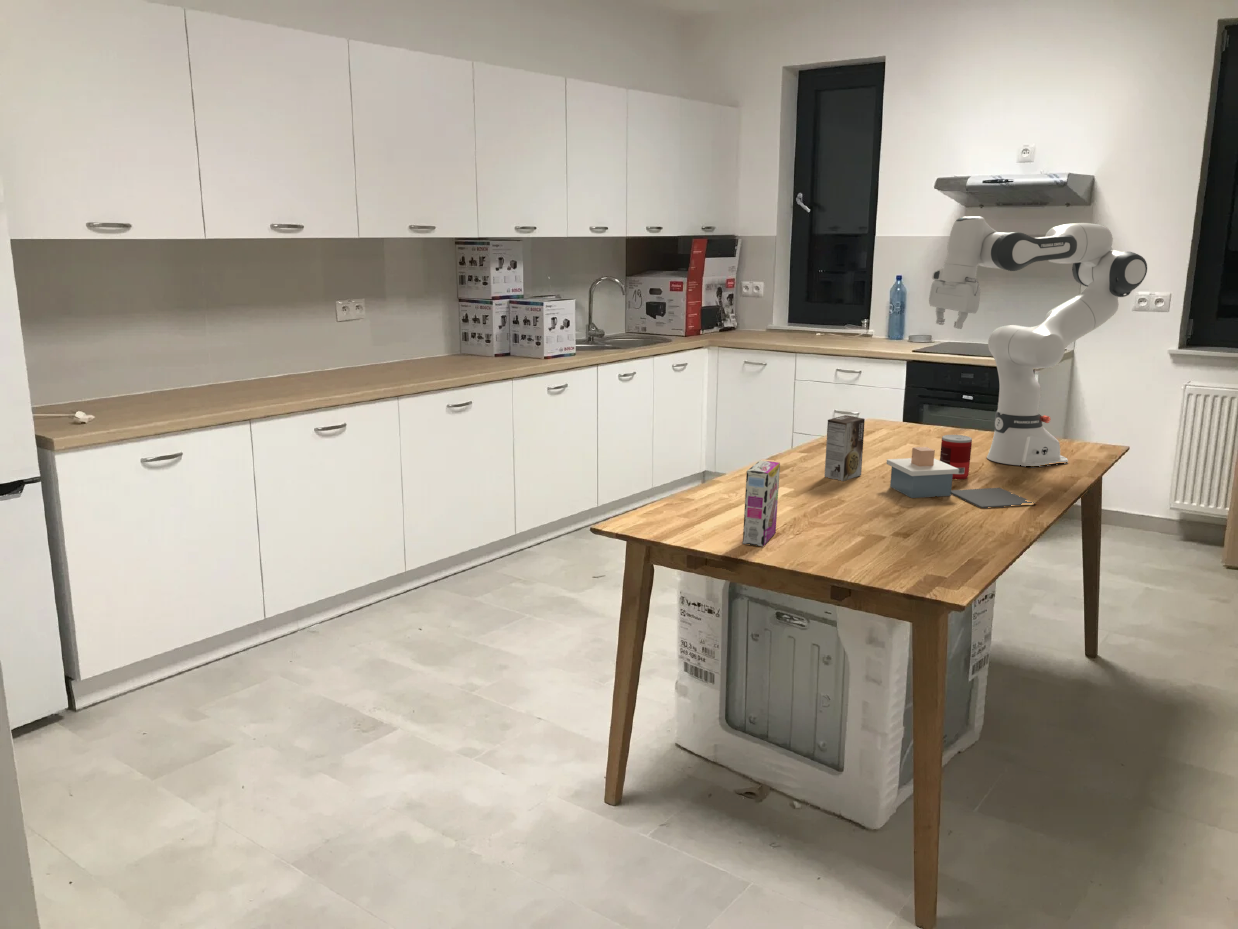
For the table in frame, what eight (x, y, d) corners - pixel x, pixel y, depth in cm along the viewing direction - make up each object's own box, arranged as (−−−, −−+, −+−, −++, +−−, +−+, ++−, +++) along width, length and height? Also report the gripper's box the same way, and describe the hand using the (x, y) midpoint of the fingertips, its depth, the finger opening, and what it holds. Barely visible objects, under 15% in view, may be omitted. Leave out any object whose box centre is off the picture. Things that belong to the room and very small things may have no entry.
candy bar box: (764, 548, 204) (768, 473, 200) (742, 545, 206) (745, 470, 202) (777, 533, 214) (781, 461, 210) (755, 530, 216) (758, 459, 212)
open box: (927, 484, 256) (929, 462, 254) (950, 495, 245) (952, 472, 244) (890, 486, 253) (891, 464, 252) (911, 498, 243) (913, 474, 241)
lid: (931, 461, 255) (932, 442, 254) (958, 473, 243) (960, 453, 242) (886, 463, 252) (887, 444, 251) (911, 476, 240) (913, 455, 239)
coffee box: (841, 471, 269) (845, 414, 265) (861, 475, 264) (866, 418, 260) (823, 477, 262) (826, 418, 259) (843, 481, 258) (847, 422, 254)
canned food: (973, 476, 265) (977, 437, 262) (960, 481, 259) (964, 441, 256) (946, 471, 270) (950, 433, 267) (933, 476, 264) (937, 437, 261)
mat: (999, 489, 252) (999, 487, 251) (1035, 505, 237) (1036, 503, 237) (947, 492, 248) (947, 490, 248) (981, 508, 234) (981, 506, 234)
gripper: (990, 280, 255) (979, 332, 259) (949, 275, 275) (939, 323, 278) (969, 277, 254) (958, 329, 257) (929, 272, 273) (920, 321, 277)
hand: (948, 326), depth 268 cm, fingers open, 8 cm apart
